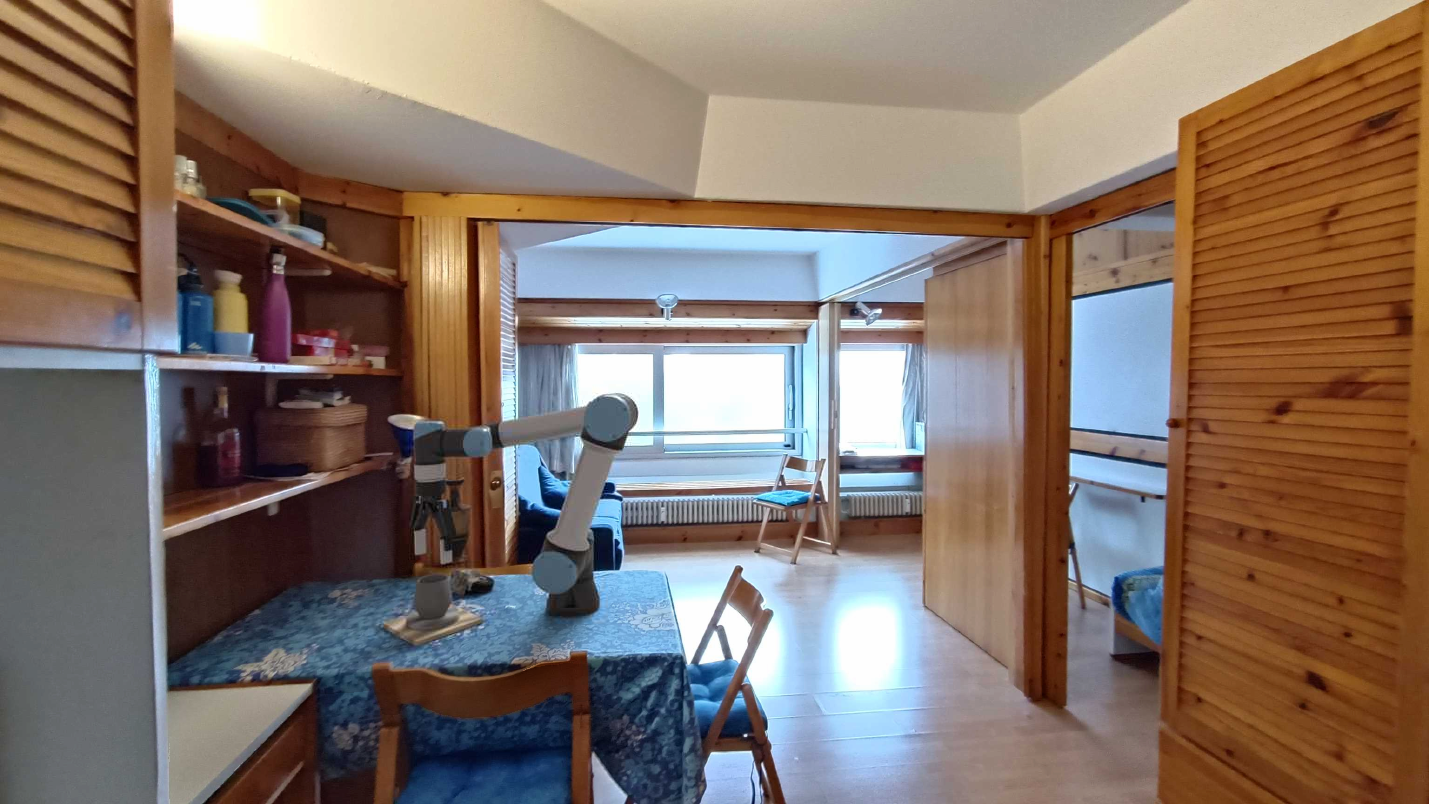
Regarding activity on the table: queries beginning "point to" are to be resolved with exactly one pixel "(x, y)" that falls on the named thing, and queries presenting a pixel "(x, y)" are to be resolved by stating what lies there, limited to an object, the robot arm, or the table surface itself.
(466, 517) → the vase
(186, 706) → the table surface
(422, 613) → the cup
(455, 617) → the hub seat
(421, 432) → the robot arm
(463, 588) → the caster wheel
